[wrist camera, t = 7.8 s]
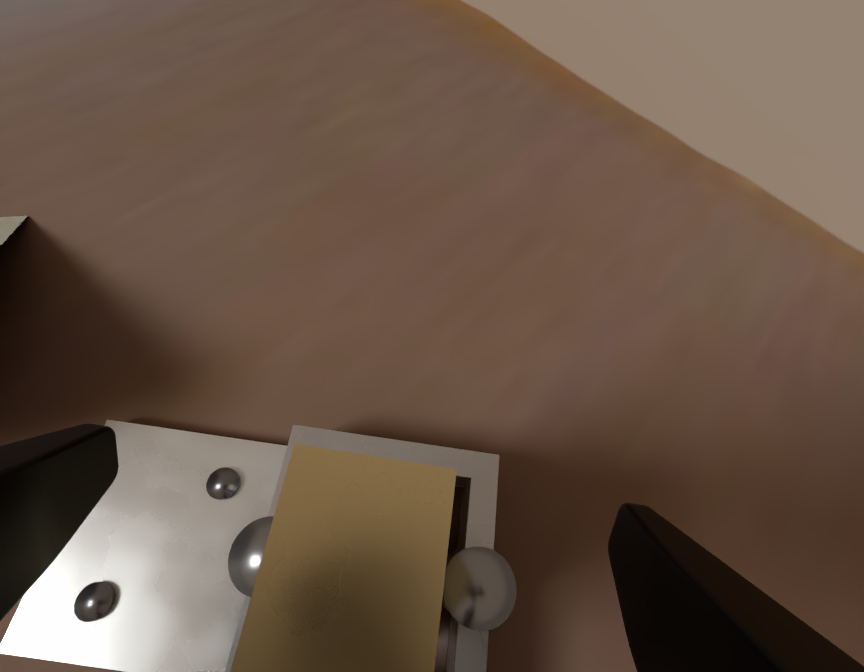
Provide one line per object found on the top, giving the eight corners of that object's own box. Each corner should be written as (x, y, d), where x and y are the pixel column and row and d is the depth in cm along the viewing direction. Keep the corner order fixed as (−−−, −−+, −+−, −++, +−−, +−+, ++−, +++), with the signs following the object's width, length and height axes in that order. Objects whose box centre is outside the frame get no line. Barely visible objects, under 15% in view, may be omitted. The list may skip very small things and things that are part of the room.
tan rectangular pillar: (415, 644, 16) (435, 744, 7) (317, 628, 16) (219, 710, 7) (432, 513, 18) (464, 469, 9) (345, 500, 18) (294, 443, 9)
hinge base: (503, 469, 19) (522, 453, 16) (488, 736, 15) (509, 777, 12) (123, 413, 19) (75, 388, 17) (7, 665, 15) (-83, 690, 12)
